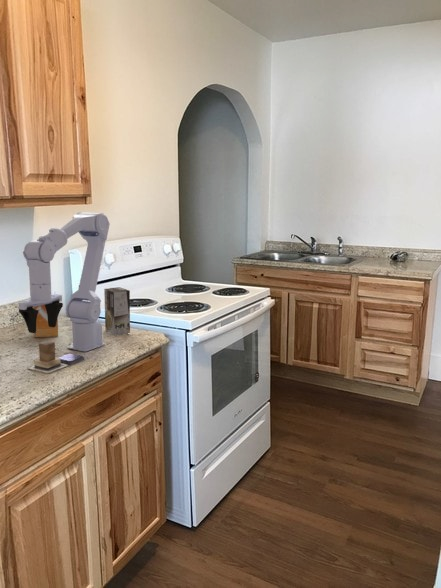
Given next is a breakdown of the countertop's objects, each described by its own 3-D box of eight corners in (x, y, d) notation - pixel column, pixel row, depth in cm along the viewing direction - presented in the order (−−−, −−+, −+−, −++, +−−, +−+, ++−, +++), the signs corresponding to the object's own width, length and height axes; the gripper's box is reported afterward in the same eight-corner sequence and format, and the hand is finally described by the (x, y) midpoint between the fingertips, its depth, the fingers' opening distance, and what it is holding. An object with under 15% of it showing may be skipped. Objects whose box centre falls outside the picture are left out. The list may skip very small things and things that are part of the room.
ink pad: (69, 356, 152) (69, 353, 152) (84, 359, 150) (84, 356, 150) (55, 362, 147) (54, 358, 147) (70, 365, 145) (70, 361, 144)
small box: (34, 338, 172) (32, 301, 170) (34, 333, 178) (33, 297, 176) (58, 336, 175) (57, 300, 173) (58, 332, 181) (57, 297, 179)
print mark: (48, 361, 148) (48, 360, 148) (69, 365, 144) (69, 364, 144) (27, 369, 141) (27, 368, 141) (48, 374, 137) (48, 372, 137)
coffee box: (130, 334, 180) (130, 290, 178) (114, 336, 177) (113, 291, 174) (120, 328, 188) (120, 286, 185) (104, 330, 184) (103, 287, 181)
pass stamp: (47, 362, 146) (47, 339, 144) (60, 365, 144) (59, 342, 142) (34, 367, 141) (33, 343, 140) (47, 370, 139) (46, 346, 138)
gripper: (48, 278, 149) (50, 322, 152) (9, 285, 136) (12, 333, 139) (66, 280, 146) (68, 325, 149) (28, 288, 133) (30, 336, 136)
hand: (42, 329), depth 144 cm, fingers open, 7 cm apart
